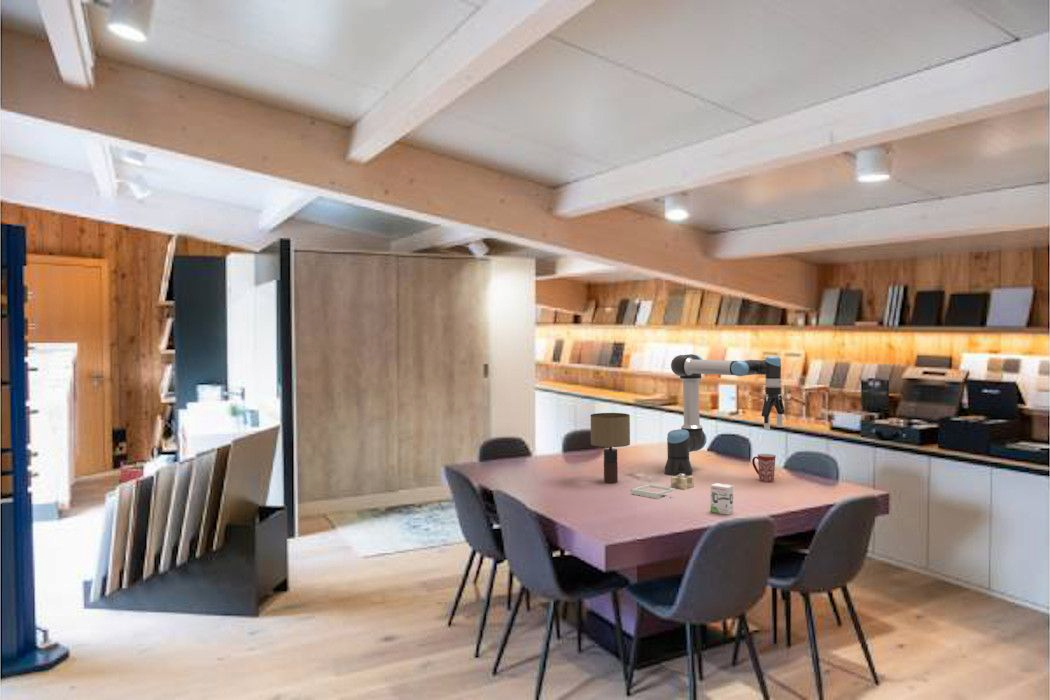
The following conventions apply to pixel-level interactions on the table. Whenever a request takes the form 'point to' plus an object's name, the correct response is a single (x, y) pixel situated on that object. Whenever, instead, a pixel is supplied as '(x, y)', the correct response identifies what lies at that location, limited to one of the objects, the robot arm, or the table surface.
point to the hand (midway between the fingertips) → (773, 428)
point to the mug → (765, 467)
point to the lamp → (610, 439)
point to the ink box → (722, 498)
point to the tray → (651, 494)
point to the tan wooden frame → (682, 482)
